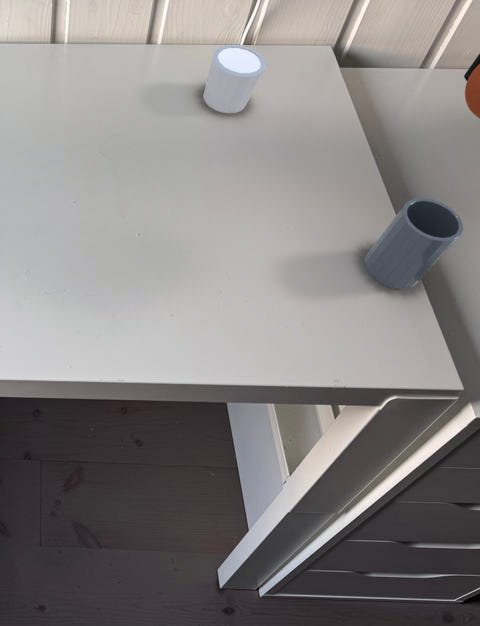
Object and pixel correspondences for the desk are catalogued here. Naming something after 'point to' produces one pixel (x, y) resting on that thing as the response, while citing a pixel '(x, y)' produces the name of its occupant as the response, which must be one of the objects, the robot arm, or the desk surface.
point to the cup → (413, 243)
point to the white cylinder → (233, 78)
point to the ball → (473, 92)
